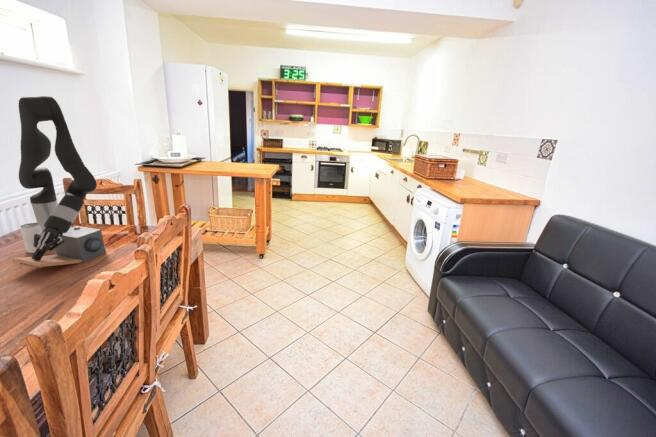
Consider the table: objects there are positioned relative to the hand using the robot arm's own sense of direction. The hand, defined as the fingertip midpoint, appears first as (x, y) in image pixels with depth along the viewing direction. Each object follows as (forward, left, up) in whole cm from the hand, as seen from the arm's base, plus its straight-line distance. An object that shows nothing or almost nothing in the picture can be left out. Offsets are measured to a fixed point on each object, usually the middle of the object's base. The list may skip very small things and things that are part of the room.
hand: (35, 259), depth 112 cm
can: (-26, -3, -6) cm, 27 cm away
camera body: (-9, +13, -6) cm, 17 cm away
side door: (-7, +9, -5) cm, 12 cm away
